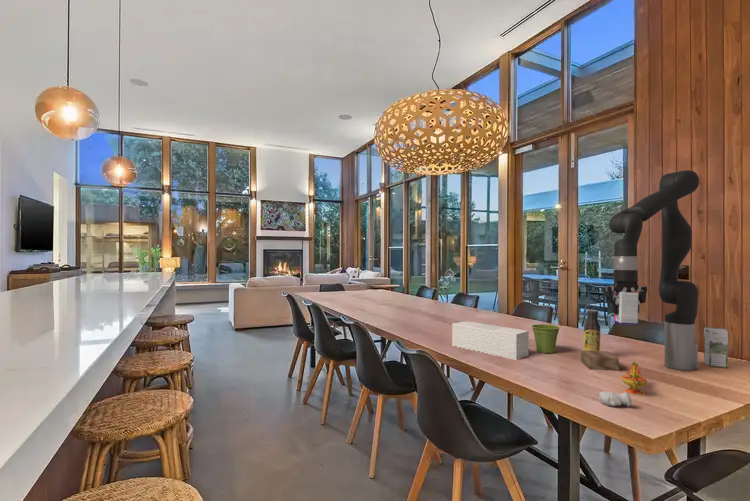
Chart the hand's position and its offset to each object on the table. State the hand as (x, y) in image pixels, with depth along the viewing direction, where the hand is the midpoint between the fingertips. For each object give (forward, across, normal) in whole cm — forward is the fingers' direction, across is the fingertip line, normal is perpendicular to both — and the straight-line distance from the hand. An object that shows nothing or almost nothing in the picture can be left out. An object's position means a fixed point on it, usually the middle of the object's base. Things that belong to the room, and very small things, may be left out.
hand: (625, 314), depth 142 cm
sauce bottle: (+22, +2, -22) cm, 31 cm away
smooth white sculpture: (+22, +20, +31) cm, 43 cm away
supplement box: (+3, 0, 0) cm, 3 cm away
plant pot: (+22, +18, -30) cm, 41 cm away
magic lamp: (+22, +7, +18) cm, 29 cm away
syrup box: (+22, -41, -13) cm, 48 cm away
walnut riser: (+22, +5, -9) cm, 24 cm away
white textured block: (+22, +42, -31) cm, 57 cm away
